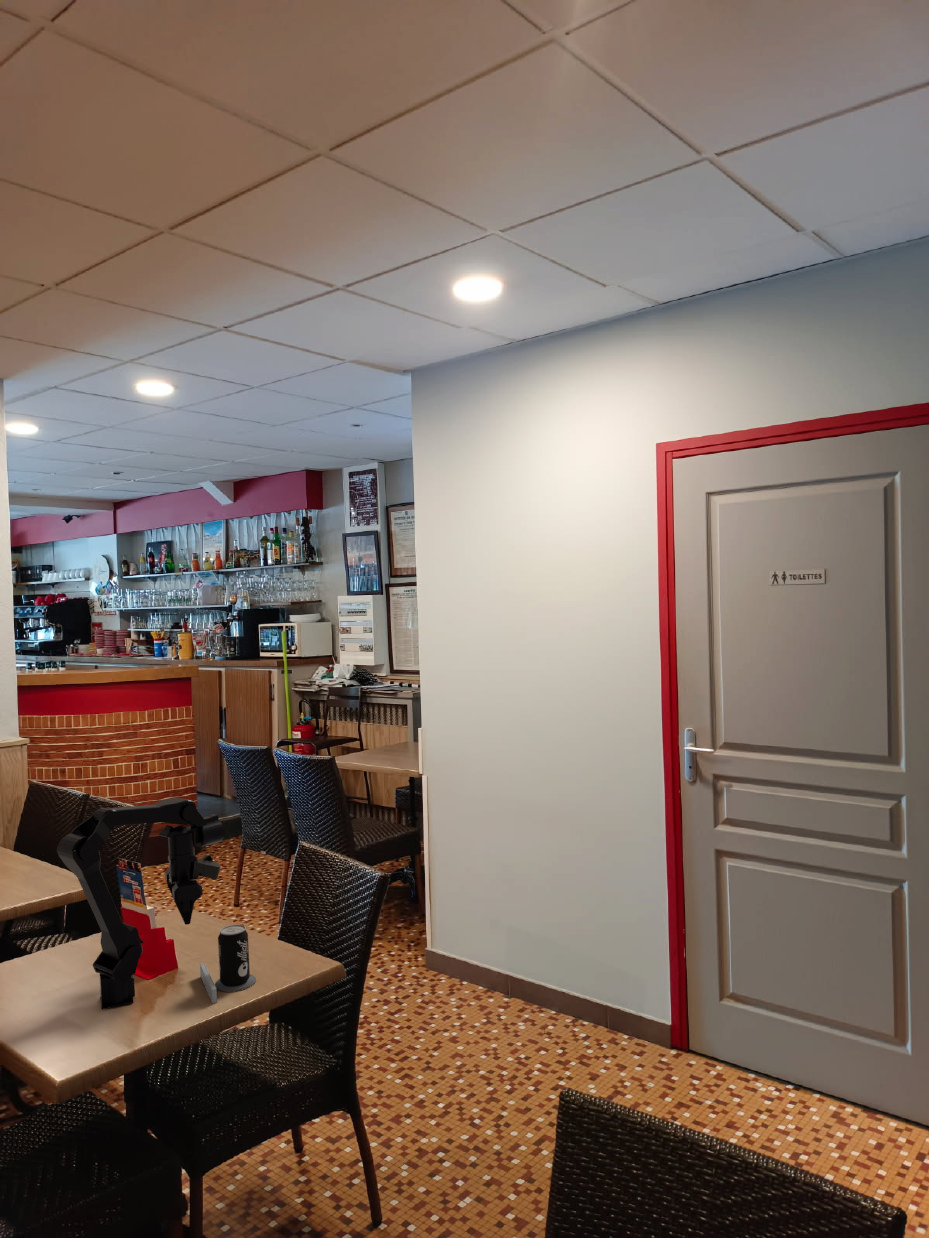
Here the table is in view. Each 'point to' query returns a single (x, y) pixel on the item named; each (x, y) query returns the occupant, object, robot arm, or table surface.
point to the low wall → (208, 983)
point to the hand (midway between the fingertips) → (184, 918)
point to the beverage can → (233, 955)
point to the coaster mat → (224, 988)
